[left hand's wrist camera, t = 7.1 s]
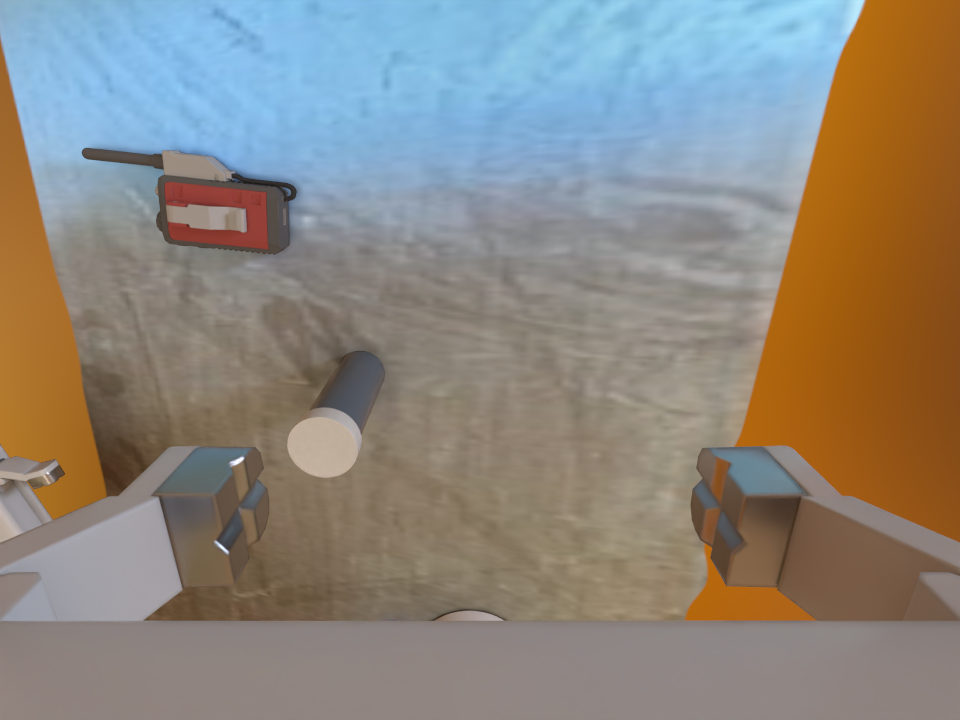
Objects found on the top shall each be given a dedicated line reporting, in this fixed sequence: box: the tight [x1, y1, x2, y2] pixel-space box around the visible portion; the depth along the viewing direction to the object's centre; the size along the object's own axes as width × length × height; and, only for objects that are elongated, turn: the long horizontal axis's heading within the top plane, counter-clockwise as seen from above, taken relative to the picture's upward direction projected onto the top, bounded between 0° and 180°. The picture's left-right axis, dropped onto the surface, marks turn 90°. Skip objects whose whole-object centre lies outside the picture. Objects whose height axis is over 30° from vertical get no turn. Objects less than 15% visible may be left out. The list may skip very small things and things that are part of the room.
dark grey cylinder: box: [309, 351, 385, 435], centre depth 54 cm, size 5×5×16 cm
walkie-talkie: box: [82, 148, 297, 255], centre depth 52 cm, size 9×4×20 cm
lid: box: [287, 408, 361, 477], centre depth 47 cm, size 6×6×2 cm
